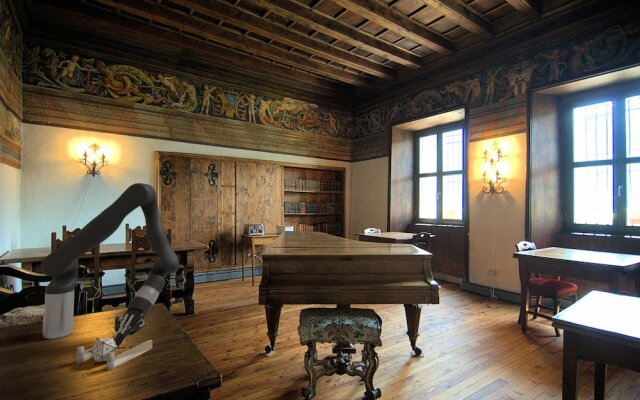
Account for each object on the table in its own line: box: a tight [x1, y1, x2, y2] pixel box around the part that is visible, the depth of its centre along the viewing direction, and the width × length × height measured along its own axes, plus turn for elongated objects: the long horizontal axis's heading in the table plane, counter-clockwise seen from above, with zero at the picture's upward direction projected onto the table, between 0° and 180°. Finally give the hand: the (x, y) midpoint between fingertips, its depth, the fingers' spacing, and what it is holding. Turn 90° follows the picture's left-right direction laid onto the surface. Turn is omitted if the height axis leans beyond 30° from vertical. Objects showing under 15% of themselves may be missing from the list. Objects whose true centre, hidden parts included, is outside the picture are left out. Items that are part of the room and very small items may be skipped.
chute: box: [75, 339, 153, 371], centre depth 114 cm, size 15×18×5 cm
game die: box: [88, 334, 121, 366], centre depth 110 cm, size 9×8×10 cm
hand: (114, 345), depth 114 cm, fingers closed
